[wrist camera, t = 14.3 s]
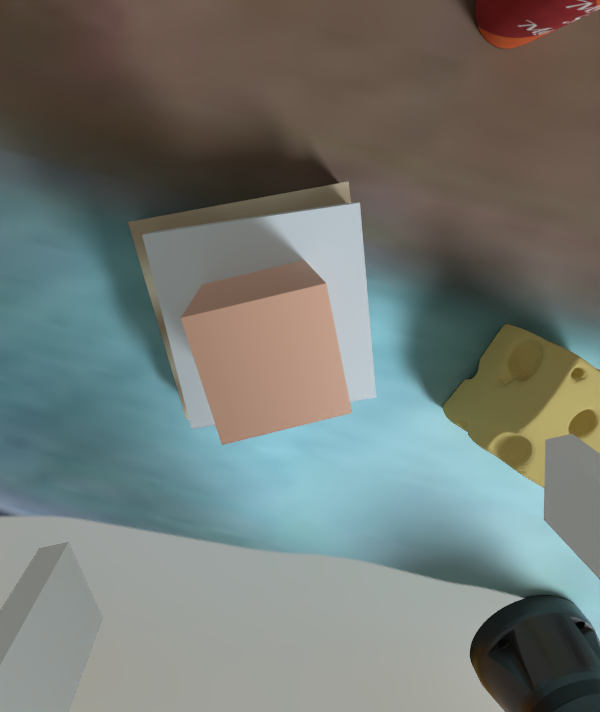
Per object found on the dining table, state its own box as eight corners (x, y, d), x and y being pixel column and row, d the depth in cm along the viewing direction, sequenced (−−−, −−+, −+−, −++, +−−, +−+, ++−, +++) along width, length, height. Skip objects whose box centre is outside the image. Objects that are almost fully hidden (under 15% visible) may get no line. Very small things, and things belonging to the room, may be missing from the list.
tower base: (361, 365, 40) (373, 381, 37) (192, 399, 40) (186, 419, 36) (338, 184, 35) (348, 181, 31) (141, 220, 34) (127, 222, 30)
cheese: (437, 408, 42) (491, 466, 33) (505, 314, 39) (585, 348, 30) (515, 450, 45) (585, 515, 35) (584, 364, 42) (679, 410, 33)
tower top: (363, 377, 36) (376, 397, 33) (197, 405, 36) (191, 428, 32) (347, 202, 32) (359, 202, 28) (155, 231, 31) (142, 234, 27)
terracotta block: (324, 356, 31) (351, 412, 23) (230, 379, 31) (221, 444, 22) (304, 260, 29) (326, 283, 20) (201, 284, 28) (180, 318, 20)
